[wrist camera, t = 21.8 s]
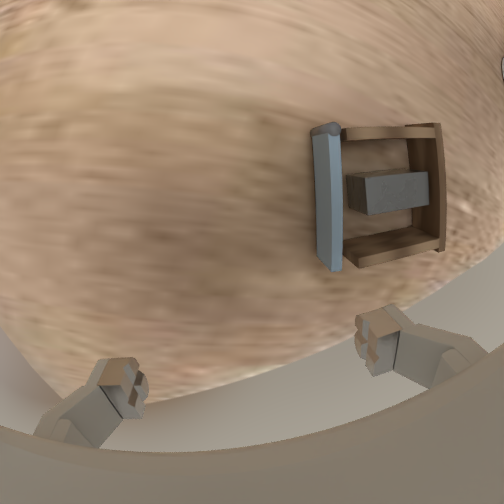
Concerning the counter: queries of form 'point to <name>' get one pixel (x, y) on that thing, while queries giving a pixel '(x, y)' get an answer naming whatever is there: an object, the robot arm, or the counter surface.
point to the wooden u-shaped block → (423, 217)
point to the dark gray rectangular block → (387, 190)
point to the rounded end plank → (328, 194)
